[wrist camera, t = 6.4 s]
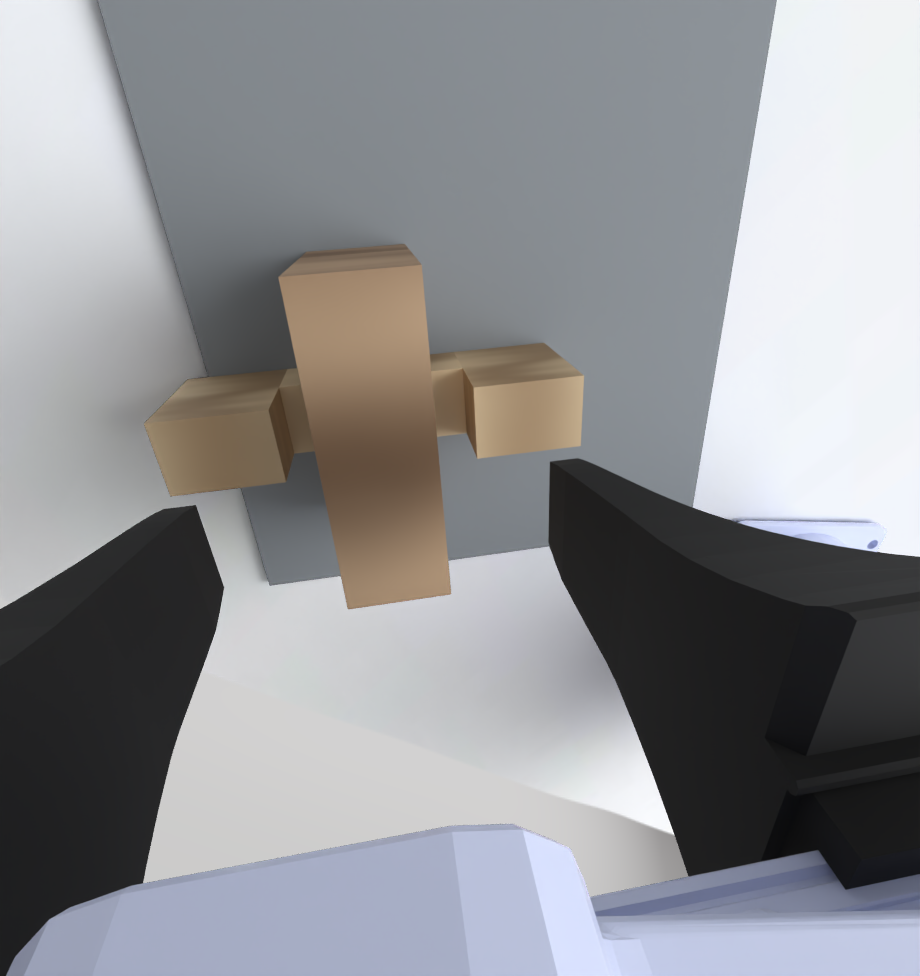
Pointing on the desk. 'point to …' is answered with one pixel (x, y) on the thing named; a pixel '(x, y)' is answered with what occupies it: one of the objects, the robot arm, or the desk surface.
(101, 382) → the desk surface
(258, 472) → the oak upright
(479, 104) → the slate mat
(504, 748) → the desk surface
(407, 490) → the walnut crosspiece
